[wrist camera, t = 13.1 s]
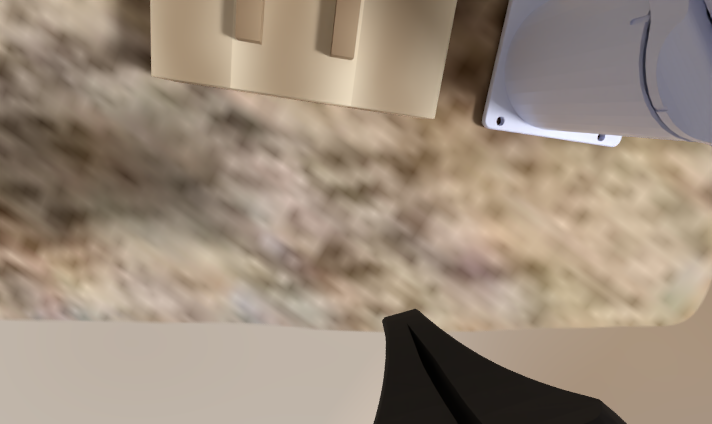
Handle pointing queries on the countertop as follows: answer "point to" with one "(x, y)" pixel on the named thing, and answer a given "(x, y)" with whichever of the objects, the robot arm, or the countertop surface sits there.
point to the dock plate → (309, 49)
